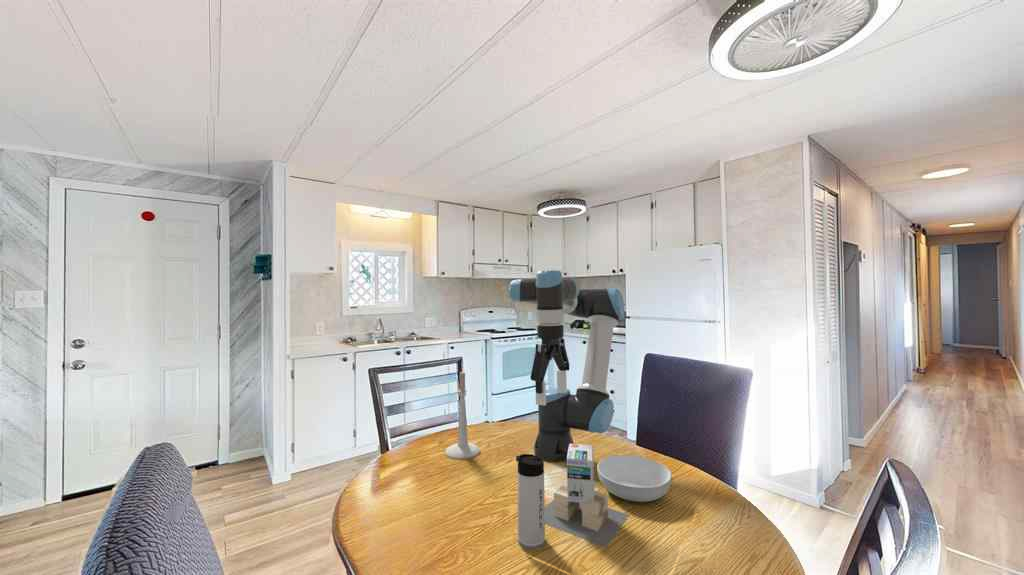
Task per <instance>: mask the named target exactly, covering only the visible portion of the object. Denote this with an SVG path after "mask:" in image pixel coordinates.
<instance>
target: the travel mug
mask: <svg viewBox="0 0 1024 575" xmlns="http://www.w3.org/2000/svg"><path fill="white" fill-rule="evenodd" d="M515 461H516V462H517V536H518V537H517V543H518V545H519V546H520V547H521V548H523V549H524V550H530V551H531V550H532V551H535V550H539V549H541V548H543V547H544V545H545V543H546V537H545V536H546V533H545V532H546V527H545V526H546V524H545V507H546V506H545V468H544V467H545V462H544V461H545V460H543V459H542V458H540V457H539V456H536V455H535V454H531V453H522V454H520V455H515Z"/></svg>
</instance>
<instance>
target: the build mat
mask: <svg viewBox="0 0 1024 575" xmlns="http://www.w3.org/2000/svg"><path fill="white" fill-rule="evenodd" d="M544 507H545V526H546V525H547V526H549V527H551V528H554V529H557V530H559V531H561V532H565V533H567V534H569V535H573V536H574V537H575V536H576V537H577V538H581V539H583V540H586V541H588V542H590V543H594V544H596V545H599V546H601V547H604V548H607V546H608V545H609V544H610V542H611V541H613V539H614V537H615V535H616V534H617V533H618V531H619V530H620V528H621V527H622V526H623V524H624V523H625V522H626V520H627V519H628V517H629V516H630V514H629V513H626V512H623V511H620V510H616V509H614V508H609V507H608V519H607V520H606V521H605V522H604V524H603V525H602V526H601V527H600V529H599V530H598V531H595V530H592V529H589V528H587V527H584V526H582V503H580V509H579V510H578V511H577V512H576V513H575V514H574V515H573V516H572V517H571V518H570V519H569V520H568V521H567V520H564V519H562V518H559V517H556V516H554V499H553V500H551V501H550V502H549V503H548V504H547V505H546V506H544Z"/></svg>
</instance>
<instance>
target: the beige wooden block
mask: <svg viewBox="0 0 1024 575" xmlns="http://www.w3.org/2000/svg"><path fill="white" fill-rule="evenodd" d="M553 500H554V516H556V517H559V518H562V519H564V520H567V521H568V520H569V519H570V518H571V517H572V516H573V515H574V514H575V513H576V512H577V511H578V510H579V509H580V503H579V502H570V501H568V495H567V481H566V482H564V483H563V484H562V485H561V486H559V487H558V489H556V490H555V491H554V492H553Z"/></svg>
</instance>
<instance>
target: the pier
mask: <svg viewBox="0 0 1024 575" xmlns="http://www.w3.org/2000/svg"><path fill="white" fill-rule="evenodd" d="M608 508H609V494H608V493H604V492H601V491H598V490H595V489H594V504H589V503H582V526H584V527H587V528H589V529H592V530H595V531H598V530H599V529H600V527H601V526H602V525H603V524H604V522H605V521H606V520H607V519H608Z"/></svg>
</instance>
